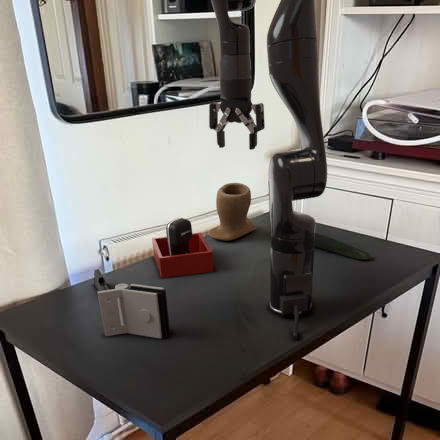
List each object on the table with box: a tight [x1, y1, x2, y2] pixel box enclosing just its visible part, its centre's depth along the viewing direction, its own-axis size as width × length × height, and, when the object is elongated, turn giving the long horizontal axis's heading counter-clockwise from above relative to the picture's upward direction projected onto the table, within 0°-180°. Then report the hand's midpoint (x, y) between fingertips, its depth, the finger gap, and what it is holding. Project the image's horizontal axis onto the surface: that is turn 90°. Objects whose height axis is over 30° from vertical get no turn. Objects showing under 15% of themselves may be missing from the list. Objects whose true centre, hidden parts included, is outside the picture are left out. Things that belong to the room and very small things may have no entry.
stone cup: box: [208, 182, 257, 242], centre depth 164 cm, size 15×12×15 cm
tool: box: [314, 232, 373, 261], centre depth 153 cm, size 28×6×7 cm, turn 47°
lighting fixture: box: [93, 268, 110, 302], centre depth 134 cm, size 19×3×4 cm, turn 22°
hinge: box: [97, 283, 171, 340], centre depth 118 cm, size 14×5×10 cm, turn 81°
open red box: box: [151, 232, 214, 279], centre depth 150 cm, size 16×14×5 cm
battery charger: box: [165, 217, 193, 256], centre depth 148 cm, size 7×4×11 cm, turn 143°
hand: (237, 148), depth 144 cm, fingers open, 8 cm apart
